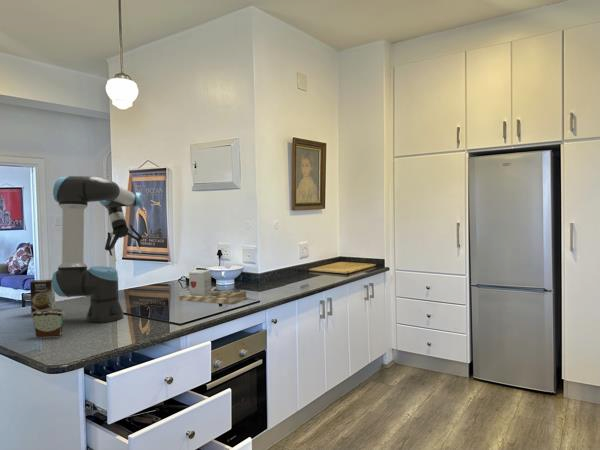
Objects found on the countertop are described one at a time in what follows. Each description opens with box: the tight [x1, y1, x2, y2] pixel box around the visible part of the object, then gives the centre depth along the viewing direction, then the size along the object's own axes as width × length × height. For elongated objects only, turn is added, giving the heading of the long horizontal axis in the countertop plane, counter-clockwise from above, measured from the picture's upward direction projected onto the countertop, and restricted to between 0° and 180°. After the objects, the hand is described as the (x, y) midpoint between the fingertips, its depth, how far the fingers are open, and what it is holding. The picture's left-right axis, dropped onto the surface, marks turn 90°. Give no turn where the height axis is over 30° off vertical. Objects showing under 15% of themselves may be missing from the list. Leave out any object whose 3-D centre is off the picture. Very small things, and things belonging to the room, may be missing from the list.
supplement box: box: [188, 269, 212, 297], centre depth 240 cm, size 9×9×15 cm
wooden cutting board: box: [179, 289, 247, 305], centre depth 239 cm, size 32×20×4 cm, turn 66°
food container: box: [30, 308, 66, 339], centre depth 175 cm, size 12×6×10 cm, turn 92°
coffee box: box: [29, 279, 56, 315], centre depth 210 cm, size 9×6×16 cm
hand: (127, 256), depth 241 cm, fingers open, 13 cm apart
